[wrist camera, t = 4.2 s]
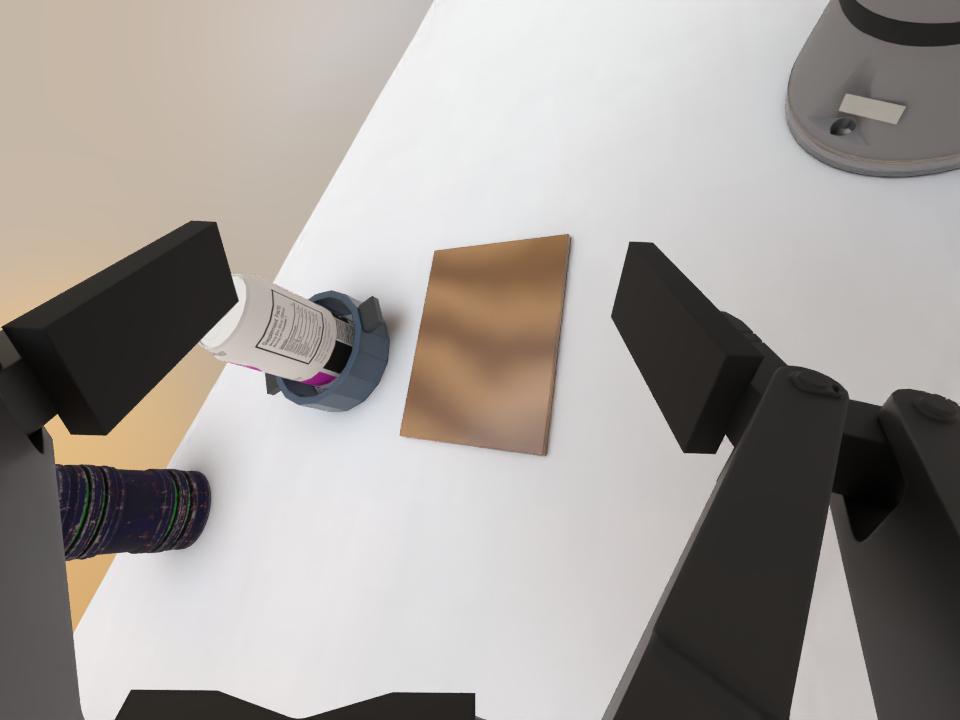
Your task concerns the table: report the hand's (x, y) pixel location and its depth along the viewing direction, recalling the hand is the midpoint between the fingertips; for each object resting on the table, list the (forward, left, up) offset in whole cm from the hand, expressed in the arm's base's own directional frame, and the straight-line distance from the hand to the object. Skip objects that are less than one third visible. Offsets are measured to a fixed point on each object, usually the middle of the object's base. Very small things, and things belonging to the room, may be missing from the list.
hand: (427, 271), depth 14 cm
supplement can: (-3, -30, -25) cm, 39 cm away
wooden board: (-5, -12, -25) cm, 28 cm away
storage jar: (+18, -52, -25) cm, 60 cm away
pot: (-3, -30, -25) cm, 39 cm away
